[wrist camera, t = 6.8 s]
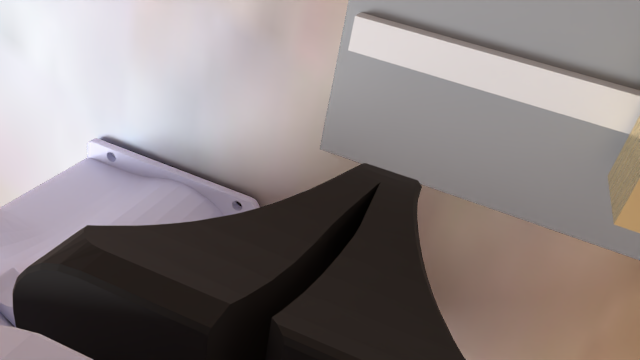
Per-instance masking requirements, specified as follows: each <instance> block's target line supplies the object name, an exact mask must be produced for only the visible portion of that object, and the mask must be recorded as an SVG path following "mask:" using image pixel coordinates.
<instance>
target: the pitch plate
mask: <svg viewBox="0 0 640 360" xmlns="http://www.w3.org/2000/svg"><path fill="white" fill-rule="evenodd" d="M639 115H640V0H349V1H348V7H347V12H346V17H345V22H344V27H343V32H342V37H341V42H340V48H339V53H338V58H337V63H336V68H335V73H334V78H333V84H332V89H331V94H330V99H329V104H328V109H327V114H326V120H325V125H324V130H323V135H322V140H321V145H320V149H321V150H324V151H327V152H330V153H332V154H335V155H338V156H341V157H344V158H347V159H350V160H353V161H355V162H358V163H361V164H363V163H367V164H370V165H373V166H376V167H379V168H382V169H385V170H388V171H391V172H394V173H397V174H400V175H403V176H406V177H409V178H412V179H415V180H418V181H419V183H420V184H422V185H424V186H427V187H430V188H433V189H436V190H439V191H442V192H444V193H447V194H450V195H453V196H456V197H459V198H462V199H465V200H467V201H470V202H473V203H476V204H479V205H482V206H485V207H488V208H490V209H493V210H496V211H499V212H502V213H505V214H508V215H511V216H513V217H516V218H519V219H522V220H525V221H528V222H531V223H534V224H536V225H539V226H542V227H545V228H548V229H551V230H554V231H557V232H559V233H562V234H565V235H568V236H571V237H574V238H577V239H580V240H582V241H585V242H588V243H591V244H594V245H597V246H600V247H603V248H605V249H608V250H611V251H614V252H617V253H620V254H623V255H626V256H628V257H631V258H634V259H637V260H640V233H638V232H635V231H632V230H629V229H626V228H623V227H620V226H617V225H614V222H613V215H612V207H611V199H610V191H609V183H608V175H609V173H610V171H611V169H612V167H613V165H614V163H615V161H616V159H617V157H618V156H619V154H620V152H621V150H622V148H623V146H624V144H625V142H626V140H627V138H628V136H629V135H630V133H631V131H632V129H633V127H634V125H635V123H636V121H637V119H638V117H639Z"/></svg>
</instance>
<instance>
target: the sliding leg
mask: <svg viewBox="0 0 640 360" xmlns="http://www.w3.org/2000/svg"><path fill="white" fill-rule="evenodd" d="M608 183H609V191H610V199H611V207H612V215H613V222H614V225H617V226H620V227H623V228H626V229H629V230H632V231H635V232H638V233H640V115H639V117H638V119H637V121H636V123H635V125H634V127H633V129H632V131H631V133H630V135H629V136H628V138H627V140H626V142H625V144H624V146H623V148H622V150H621V152H620V154H619V156H618V157H617V159H616V161H615V163H614V165H613V167H612V169H611V171H610V173H609V175H608Z"/></svg>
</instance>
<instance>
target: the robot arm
mask: <svg viewBox="0 0 640 360" xmlns="http://www.w3.org/2000/svg"><path fill="white" fill-rule="evenodd" d="M112 153H113V154H114V155H115V157H114V156H113V154H112ZM421 188H422V187H421V185H420V183H419V181H418V180H415V179H412V178H409V177H406V176H403V175H400V174H397V173H394V172H391V171H388V170H385V169H382V168H379V167H376V166H373V165H370V164H367V163H363V164H361V165H359V166H357V167H355V168H353V169H351V170H349V171H347V172H345V173H343V174H341V175H339V176H337V177H335V178H333V179H331V180H329V181H327V182H325V183H323V184H320V185H318V186H316V187H314V188H312V189H310V190H307V191H305V192H302V193H300V194H297V195H295V196H292V197H290V198H287V199H284V200H282V201H279V202H276V203H273V204H270V205H267V206H264V207H260V206H259V204H258V202H257V201H256V200H255V199H254V198H252V197H249V196H247V195H244V194H242V193H239V192H236V191H234V190H231V189H228V188H226V187H223V186H221V185H218V184H215V183H213V182H210V181H208V180H205V179H202V178H200V177H197V176H194V175H192V174H189V173H187V172H184V171H181V170H179V169H176V168H174V167H171V166H168V165H166V164H163V163H160V162H158V161H155V160H153V159H150V158H147V157H145V156H142V155H139V154H137V153H134V152H132V151H129V150H126V149H124V148H121V147H119V146H116V145H113V144H111V143H108V142H105V141H103V140H100V139H93V140H91V141H89V142H88V144H87V158H86V159H84V160H82V161H81V162H79V163H77V164H75V165H74V166H72V167H70V168H68V169H67V170H65V171H63V172H61V173H60V174H58V175H56V176H54V177H53V178H51V179H49V180H47V181H46V182H44V183H42V184H40V185H39V186H37V187H35V188H33V189H32V190H30V191H28V192H26V193H25V194H23V195H21V196H19V197H18V198H16V199H14V200H13V201H11V202H9V203H7V204H6V205H4V206H2V207H0V360H466V359H465V358H464V357H463V355H462V353H461V352H460V350H459V348H458V347H457V345H456V343H455V341H454V340H453V338H452V336H451V334H450V331H449V329H448V327H447V325H446V323H445V321H444V319H443V317H442V315H441V313H440V311H439V309H438V306H437V304H436V301H435V298H434V296H433V293H432V290H431V287H430V284H429V281H428V278H427V274H426V271H425V267H424V262H423V258H422V253H421V248H420V241H419V233H418V222H417V202H418V197H419V194H420V191H421ZM236 201H238V202H239V203H240V204H241V205H242V207H241V206H239V205H238V204H237V203H236Z"/></svg>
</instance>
